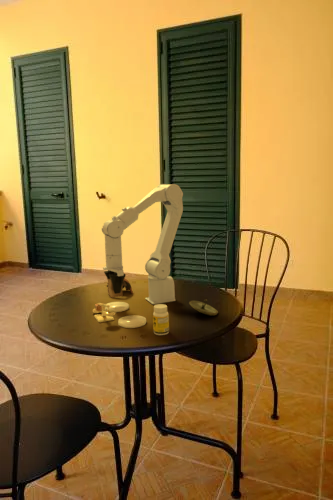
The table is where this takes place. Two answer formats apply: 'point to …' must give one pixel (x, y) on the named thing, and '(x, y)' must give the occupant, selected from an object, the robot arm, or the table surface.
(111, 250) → the robot arm
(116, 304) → the dish low side
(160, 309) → the supplement bottle
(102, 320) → the balance
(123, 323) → the cream round disc
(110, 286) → the block
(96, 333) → the table surface
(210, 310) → the lid
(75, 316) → the table surface
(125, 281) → the brown segmented ring
